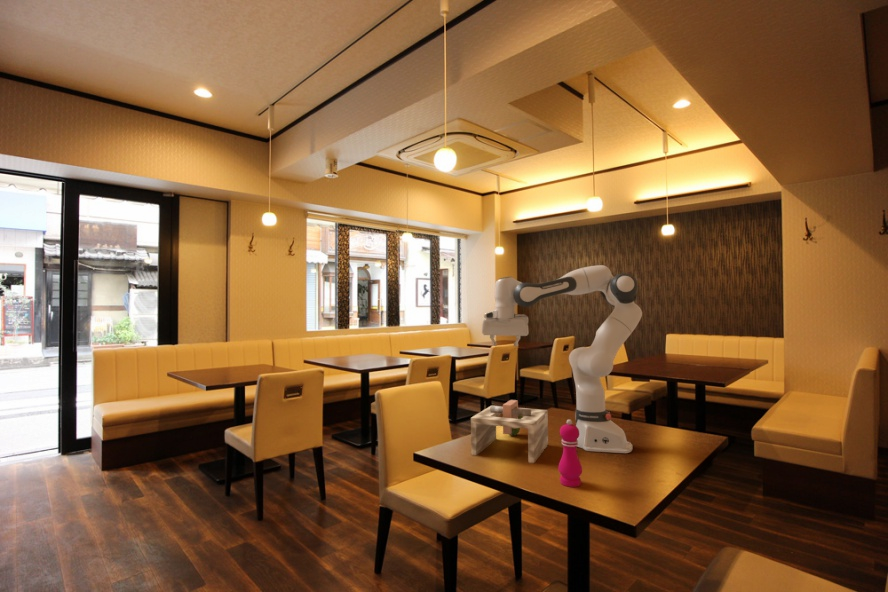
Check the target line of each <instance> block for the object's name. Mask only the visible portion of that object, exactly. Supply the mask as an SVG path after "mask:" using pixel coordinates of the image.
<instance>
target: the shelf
mask: <svg viewBox="0 0 888 592" xmlns="http://www.w3.org/2000/svg"><path fill="white" fill-rule="evenodd" d="M511 411H512V414H517V415H519V416H522V417H523V418H521V419H513V418H503V416H502V417H501V415H503V405H502V406H501V405H490V406H488V407H487V408H484V409H483V410H482V411H480V412H478V413H476V414H474V415H473V416H472V417H470V438H471V439H470V448H471V449H470V451H471V453H470V455H472V456H478V455H479V454H480V453H481V452H482V451H484V450H485V449H486V448H487V447H488V446H490V445H491V444H492V443H493V442H494V441H495V439H496V440H497V427H503V426H505V427H515V428H520V429H525V430H527V452H528V453H527V454H528V456H527V457H528V458H527V460H528V463H529V464H535V463H536V461H537V460H538V459H539V458H540V456H541V455H542V454H543V452H544V451H545V450H546V448H548V446H549V430H548V429H549V426H548V425H549V424H548V423H549V421H548V418H549V416H548V414H549V413H548V409H537V408H527V407H526V408H525V407H518V408H514V409H512V410H511ZM490 443H491V444H490ZM489 444H490V445H489ZM547 445H548V446H547ZM544 449H545V450H544ZM541 453H542V454H541Z"/></svg>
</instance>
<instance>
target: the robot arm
mask: <svg viewBox="0 0 888 592" xmlns="http://www.w3.org/2000/svg"><path fill="white" fill-rule="evenodd" d="M638 289H639V287H638V281H637V279H636V277H634V275H632V274H629V273H625V272H623V273H622V272H621V273H620V274H616V275H615V276H614V275H613V274H612V271H611V269H610V268H609V267H608V266H606V265H600V264H599V265H598V264H597V265H590V266H584V267H580V268H577V269H574V270H571V271H569V272H567V273H565V274H564V275H562V276H561V277H560V278H557V279H553V280H549V281H545V282H540V283H532V282H522V281H519V280H517V279H515V278H514V277H513V276H505V277H501V278H498V279H497V280H496V281H495V284H494V301H495V304H494V310H491V311H489V312H485V313H484V314H483V317H484V320H482V325H481V327H482V328H481V333H482V334H483V336H489V338H490V340H491V342H492V346H493V347H496V346H498V341H496V340H495V338H496V337H495V336H507V337H509V336H510V337H514V336H515V338H516V340H515V341H514V342H513V347H518V346H519V341H520V340H521V337H526V336H528V335H529V316H528V315H526V314H525V313H522V314H518V313H516V306H519V307H523V308H530V307H532V306H533V305H535V304H536V303H537V302H539V301H540V300H543V299H545V298H550V297H554V296H557V295H559V296H560V295H570V296H579V295H585V294H590V293H594V292H599V291H600V295H601V296H602V297H603V298H604V300H605V301H606V303H607V304H608V305H609V306H611V307H612V308H613V310H612V312H611V313H610V314H609V315H608V316H607V318H606V319H605V320H604V321H603V322H602V324H601V325H600V326H599V328H598V329H597V330H596V332H595V337H594V339H593V341H592V343H591V345H590V346H588V347H587V346H581V347H576V348H575V349H572V350H571V351H570V353H569V356H568V361H569V364H570V366H571V370H572V375H573V380H574V385H575V392H576V393H575V394H576V395H575V397H576V398H575V399H576V408H575V412H574V413H575V415H574V417H575V420H574V421H575V424H576V425H575V426H576V427H577V428H578V429H579V437H578V438H577V440H578V445H577V447H578V448H580V449H583V450H584V451H587V452H598V453H601V452H602V453H615V454H628V453H631V452H632V451H633V450H634V449H633V444H632V443H631V442H630V441H627V437H626V433H625V430H623V428H621V427H620V426H619V425H618V424H616V423H615V422H614V421H612V420H611V418H612V415H611V411H608V410H607V409H606V391H605V389H604V386H603V384H602V381H601V378H604V377H607V376H609V375H610V373H612V371H613V368H614V361H615V358H616V356H617V355H618V352H619V350H620V348H621V347H622V346H623V344H624V343H625V342H626V341H627V339H628V338H629V337H630V336H631V334H632V333H633V331H634V330H636V327H638V324H639V323H640V321H641V319H642V316H643V311H642V309H641V308H640V306H639V305H638V304H636V303H635V301H636V300H637V297H638Z"/></svg>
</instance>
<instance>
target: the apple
mask: <svg viewBox="0 0 888 592" xmlns="http://www.w3.org/2000/svg"><path fill="white" fill-rule="evenodd" d="M523 417H524V416H519V415H518V419H521V418H523ZM520 430H521V428H518V429H514V428H512V434H511V435H510V434H508V435H509V436H515V437H516V436H517V435H518V434H519V432H520Z"/></svg>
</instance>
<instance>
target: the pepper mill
mask: <svg viewBox="0 0 888 592" xmlns="http://www.w3.org/2000/svg"><path fill="white" fill-rule="evenodd" d="M559 435H560V437H561V445H562V449H563V450H562V451H563V452H562V454H561V455H562V456H561V458H560V461H559V463H558V470H557V471H558V472H559V474H560V476H559V477H560V478H559V483H560V484H561V485H562V486H565V487H569V488H576V487H580V486H581V485H582V483H581V482H582V480H581V477H580V476H581V475H582V474H583V467H582V463H581V461H580V459H579V457H578V453H577V449H578V448H577V445H578V440H577V438H578V437H579V429H578V428H577V427H576V425H574V424H573V421H572V419H567V420H566V424H563V425H562V426H561V427H560V429H559Z"/></svg>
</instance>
